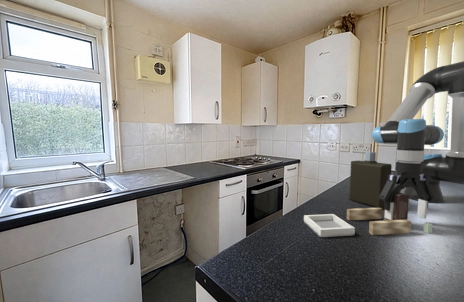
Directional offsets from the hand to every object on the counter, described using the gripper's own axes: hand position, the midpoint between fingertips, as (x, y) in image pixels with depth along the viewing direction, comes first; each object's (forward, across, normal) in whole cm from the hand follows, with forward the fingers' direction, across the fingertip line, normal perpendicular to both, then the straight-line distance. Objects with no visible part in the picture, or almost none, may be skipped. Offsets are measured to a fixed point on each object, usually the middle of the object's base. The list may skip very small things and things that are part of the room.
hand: (405, 218), depth 76 cm
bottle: (+2, -3, -22) cm, 22 cm away
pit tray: (+2, +31, 0) cm, 31 cm away
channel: (+2, +12, 0) cm, 12 cm away
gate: (+2, -1, 0) cm, 2 cm away
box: (+2, +4, 0) cm, 5 cm away
